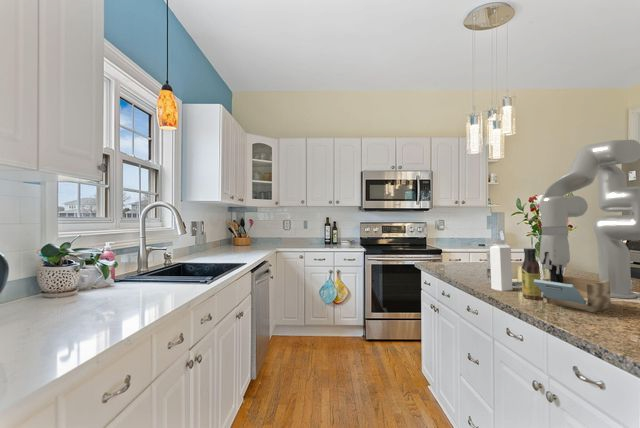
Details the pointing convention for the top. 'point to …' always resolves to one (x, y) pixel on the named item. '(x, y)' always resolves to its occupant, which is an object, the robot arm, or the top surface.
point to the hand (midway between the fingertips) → (556, 284)
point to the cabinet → (585, 294)
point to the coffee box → (488, 267)
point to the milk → (501, 266)
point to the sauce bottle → (530, 275)
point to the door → (560, 291)
